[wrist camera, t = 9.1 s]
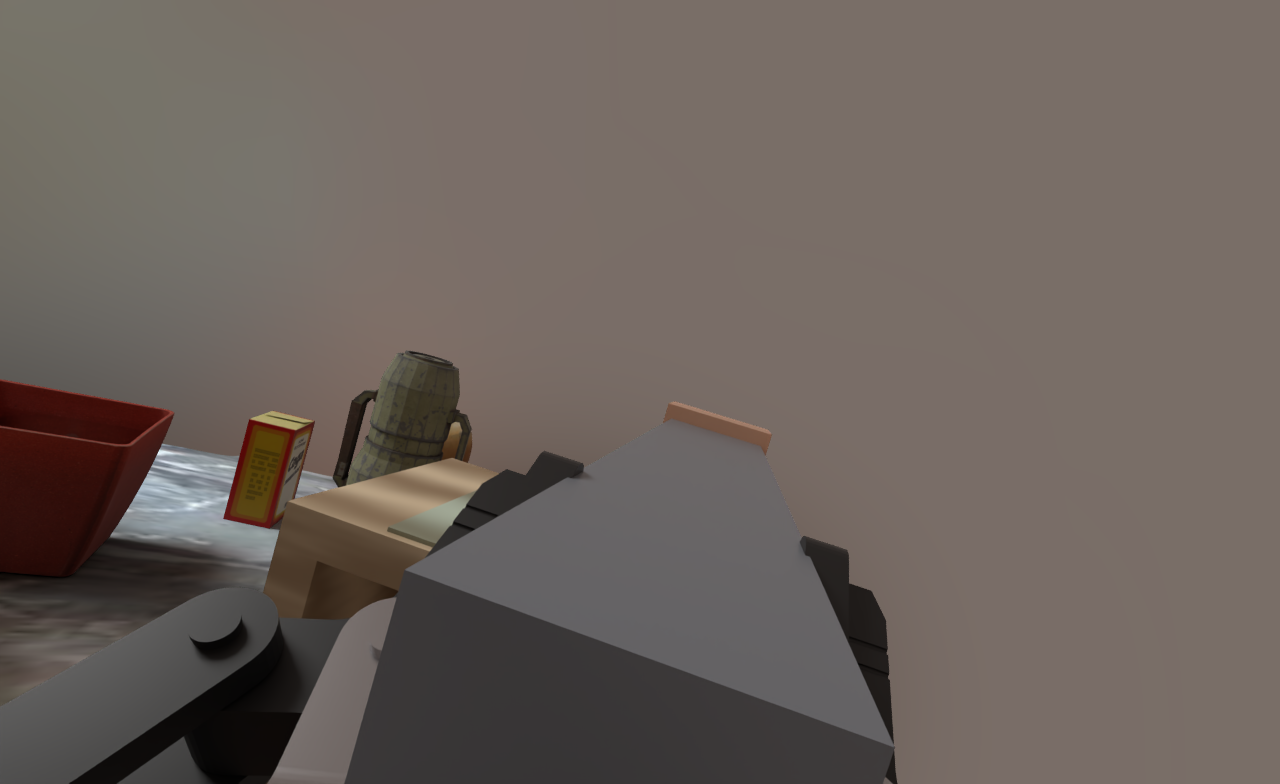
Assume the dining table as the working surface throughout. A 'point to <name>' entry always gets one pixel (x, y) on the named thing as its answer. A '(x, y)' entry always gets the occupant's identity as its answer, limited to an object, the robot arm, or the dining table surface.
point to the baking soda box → (268, 468)
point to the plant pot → (68, 473)
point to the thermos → (404, 419)
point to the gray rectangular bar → (626, 636)
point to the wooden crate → (364, 538)
